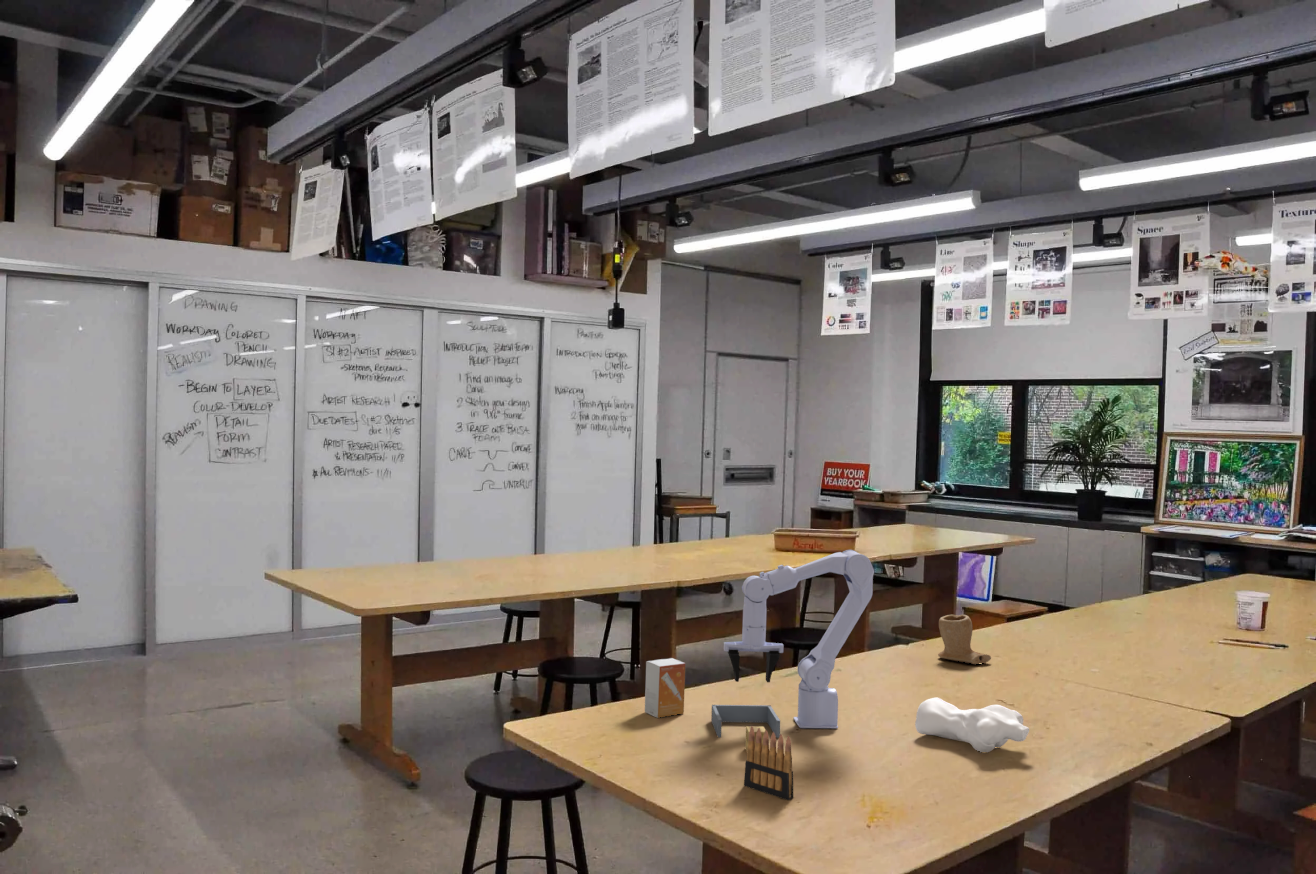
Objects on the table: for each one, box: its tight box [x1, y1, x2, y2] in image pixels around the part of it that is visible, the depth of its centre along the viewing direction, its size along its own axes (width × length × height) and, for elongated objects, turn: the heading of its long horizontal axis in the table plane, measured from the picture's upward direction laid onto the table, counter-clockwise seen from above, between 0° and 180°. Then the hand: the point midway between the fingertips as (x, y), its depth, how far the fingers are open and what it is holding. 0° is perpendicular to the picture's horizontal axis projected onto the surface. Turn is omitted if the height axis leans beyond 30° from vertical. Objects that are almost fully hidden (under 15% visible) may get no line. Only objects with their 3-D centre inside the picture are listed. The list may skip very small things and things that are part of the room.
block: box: [744, 725, 766, 752], centre depth 213 cm, size 4×4×5 cm
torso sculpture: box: [914, 696, 1030, 753], centre depth 222 cm, size 18×10×25 cm
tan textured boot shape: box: [937, 614, 992, 665], centre depth 308 cm, size 15×12×15 cm
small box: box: [644, 657, 686, 719], centre depth 241 cm, size 8×6×13 cm
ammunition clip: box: [743, 725, 794, 801], centre depth 189 cm, size 11×2×12 cm, turn 48°
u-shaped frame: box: [710, 704, 781, 739], centre depth 230 cm, size 15×13×4 cm
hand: (752, 681), depth 234 cm, fingers open, 7 cm apart
